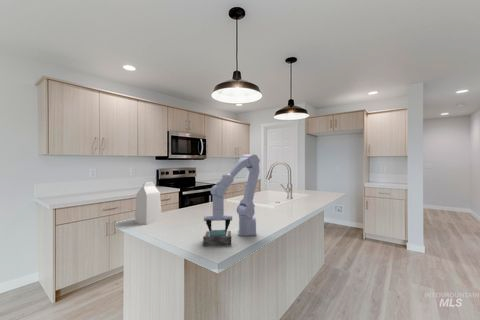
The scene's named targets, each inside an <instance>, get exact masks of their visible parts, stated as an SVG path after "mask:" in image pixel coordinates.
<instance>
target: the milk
mask: <svg viewBox="0 0 480 320" xmlns="http://www.w3.org/2000/svg"><path fill="white" fill-rule="evenodd" d="M135 195H136V197H135V213H134V216H135V217H134V223H136V222H137V224H140V225H144V224H145V225H144V226H147V225H151V224H154V223H157V222H161V221H162V220H163V217H162V216H163V215H162V202H161V192H160V191H159V190H158V188H157V187H156V185H155V184H154V181H147V182H143V184H142V187H141V188H140V189H138V191H137V192H136V194H135Z"/></svg>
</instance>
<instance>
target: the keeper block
mask: <svg viewBox="0 0 480 320" xmlns="http://www.w3.org/2000/svg"><path fill="white" fill-rule="evenodd" d="M208 231H209V236H227V233H226V232H225V229H212V230H209V229H208Z"/></svg>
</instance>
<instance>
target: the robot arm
mask: <svg viewBox="0 0 480 320" xmlns="http://www.w3.org/2000/svg"><path fill="white" fill-rule="evenodd" d="M260 160H261V159H260V158H259V157H258V155H257V154H255V153H254V154H253V153H251V154H243V155H242V156H241V157H240V158H238V160H237V162H236V164H234V166H233V168H232V169H231V170H230V171H229V173H225V174H222V176H221V179H219V181H217V182H216V184H215V185H212V187H211V188H210V190H209V191H210V194H211V195H212V215H210V216H209V215H207V216H203V222H205V224H206V226H207V229H208V231H209V230H213V229H212V222H213V221H225V223H224V224H225V225H224V230H225V232H226V234H228V229H229V226H230V223H231V222H232V221H233V215H225V214H224V211H225V209H224V208H225V207H224V206H225V205H224V204H225V203H224V201H225V200H224V199H225V198H224V196H225V195H226V193H227V190H228V188H229V187H230V186H231V184H233V182H234V178H235V177H236V176H237V175H238V174H239V173H240V172H241V170H243V169H244V168H246V170H247V171H248V172H249V173H248V175H247V176H248V177H247V181H246V185H245V189H244V194H243V198H241V200H240V201H239V204H238V205H237V207H236V213H237V215H238V230H237V233H238V236H239V237H240V236H244V237H245V236H257V219H256V217H254V216H255V204H254V201H253V200H254V198H255V197H254V196H255V193H256V188H257V184H258V179H259V175H260V169H261V168H260Z"/></svg>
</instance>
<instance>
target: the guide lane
mask: <svg viewBox="0 0 480 320" xmlns="http://www.w3.org/2000/svg"><path fill="white" fill-rule="evenodd" d="M202 241H203V242H202V247H211V246H212V247H213V246H215V247H217V246H219V247H221V246H222V247H223V246H228V247H229V246H232V233H231V230H227V235H226V236H209V230H208V231H206V232H205V236H203V238H202Z"/></svg>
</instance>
